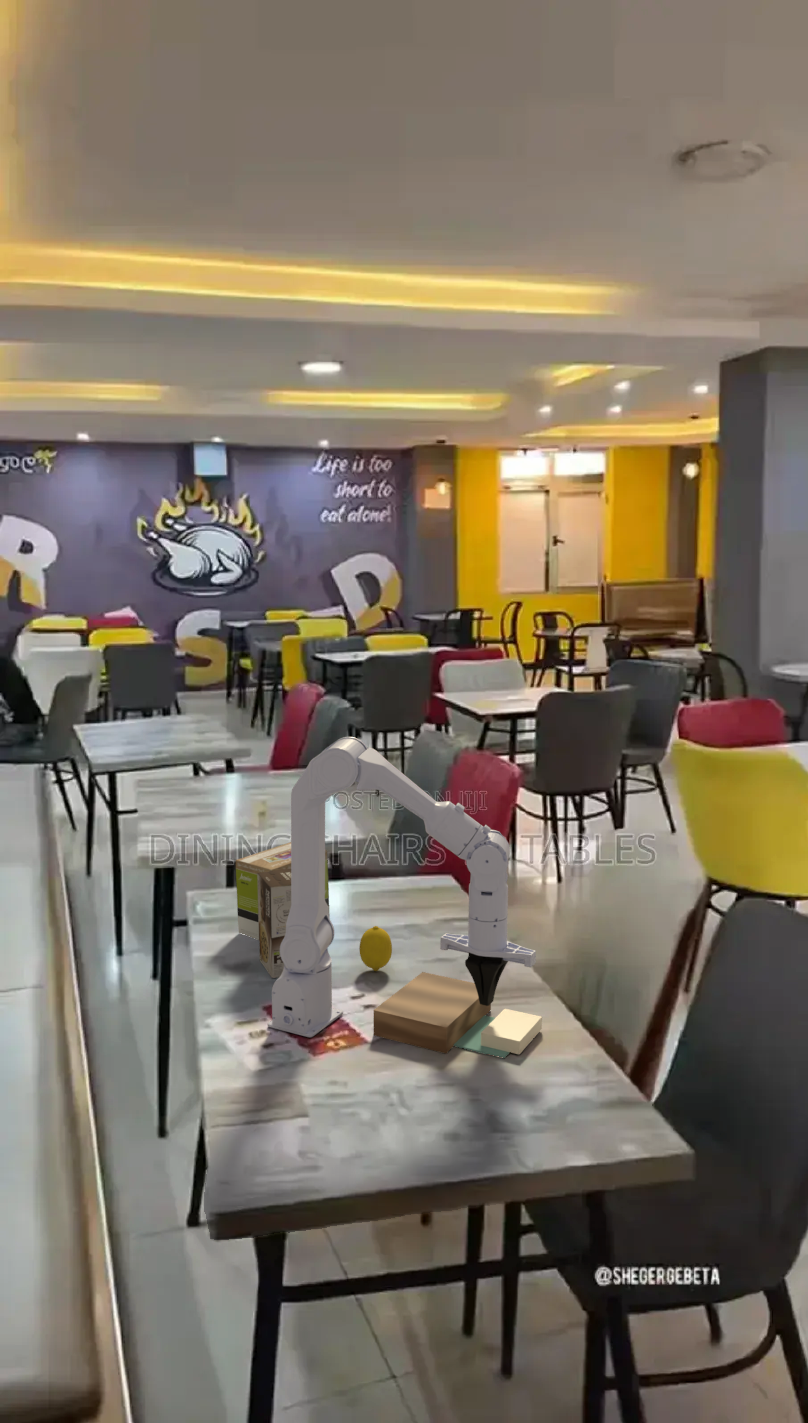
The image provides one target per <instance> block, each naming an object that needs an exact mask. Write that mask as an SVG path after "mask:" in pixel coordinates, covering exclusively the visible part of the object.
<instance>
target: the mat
mask: <svg viewBox="0 0 808 1423" xmlns="http://www.w3.org/2000/svg"><path fill="white" fill-rule="evenodd" d="M495 1018H496V1017H495V1016H490V1015H484V1016H483V1017H482V1018H481V1019H480V1020H479V1021H478V1022H477V1023H476V1024H475V1025H474V1026H473V1027H471V1028H470V1029H469V1030H468V1031H467V1032H466V1033H465V1034H464V1035H463V1036H462V1037H461V1038H460V1039H459V1040H458V1041H457V1042H456V1043H455V1044H454V1046H456V1047H455V1048H458V1047H459V1049H462V1048H464V1049H463V1050H466V1049H467V1050H466V1051H470V1050H472V1051H471V1052H474V1051H476V1052H475V1053H479V1054H482V1053H483V1055H486V1054H490V1055H494V1056H499V1057H503V1058H505V1057H506V1056H507V1055H508V1054H509V1053H510V1052H507V1051H502V1050H498V1049H494V1048H490V1047H486V1046H481V1032H482V1031H483V1030H484V1029H485V1028H486V1027H487V1026H488V1025H489V1024H490V1023H491V1022H492V1021H493V1020H494V1019H495ZM510 1054H511V1053H510ZM510 1054H509V1055H510ZM490 1055H489V1056H490ZM509 1055H508V1056H509ZM494 1056H493V1057H494ZM508 1056H507V1057H508ZM507 1057H506V1058H507ZM506 1058H505V1059H506Z"/></svg>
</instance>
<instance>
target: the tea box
mask: <svg viewBox="0 0 808 1423" xmlns="http://www.w3.org/2000/svg"><path fill="white" fill-rule="evenodd" d="M328 858H329V857H328V849H327V850H326V849H325V901H326V903H327V905H328V908H329V909H330V888H329V885H330V884H329V866H328V862H329V861H328V860H329V859H328ZM289 868H291V841H290V842H288V843H284V844H281V845H277V846H274V847H272V848H268V849H265V850H263V851H259V852H255V853H253V854H251V855H247V856H244V857H241V858H237V859H235V878H236V880H235V881H236V882H235V883H236V903H237V904H236V907H237V926H238V933H239V934H240V933H242V934H245V935H247V936H250V937H252V938H251V939H253V938H255V939H254V940H256V939H257V941H259V921H258V882H257V873H260V872H269V871H273V870H280V869H289ZM328 912H329V918H330V917H331V916H330V914H331V913H330V910H329V911H328ZM330 919H331V918H330ZM242 934H241V935H242ZM245 935H244V936H245ZM247 936H246V937H247ZM250 937H249V938H250Z"/></svg>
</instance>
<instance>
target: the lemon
mask: <svg viewBox="0 0 808 1423" xmlns="http://www.w3.org/2000/svg"><path fill="white" fill-rule="evenodd" d="M359 942H360V943H359V948H358V949H359V956H360V959H361V962H362V964H364V965H365V966H366V967H368V968H370V969H372V970H373V971H374V972H378V971H379V970H380V969H381V968H384V967H386V965H388V963H389V962H390V960H391V957H392V954H393V944H392V940H391V937H390V934H389V933H388V932H387V930H385V929H383V928H381V927H379V926H378V925H374V926H373V927H370V928H368V929H367V930H366V931H364V933H362V935H361V939H360V941H359Z"/></svg>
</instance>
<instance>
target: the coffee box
mask: <svg viewBox="0 0 808 1423" xmlns="http://www.w3.org/2000/svg"><path fill="white" fill-rule="evenodd" d="M257 882H258V921H259V940H258V943H259V944H258V945H259V946H258V949H259V952H258V954H259V961H260V963H261V964H262V965H263V967H264V968H265V970H266V971H267V973H268V974H269V976H270V977H271V978H272V979H278V978H279V977H280V976H281V974H282V972H283V969H284V963H283V961H282V959H281V956H280V945H281V942H282V941H283V939H284V937H285V934H286V922H287V919H288V915H289V912H290V908H291V868H289V869H280V870H273V871H269V872H260V873H257Z"/></svg>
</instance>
